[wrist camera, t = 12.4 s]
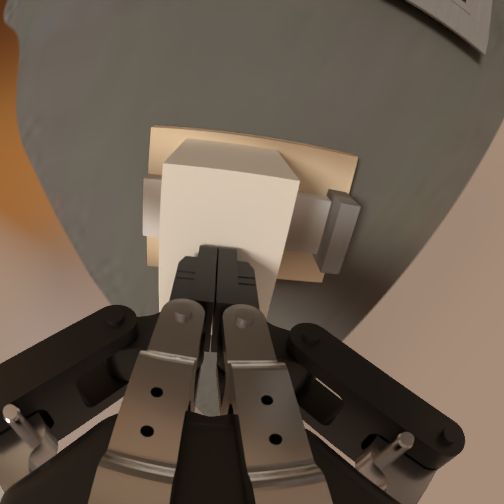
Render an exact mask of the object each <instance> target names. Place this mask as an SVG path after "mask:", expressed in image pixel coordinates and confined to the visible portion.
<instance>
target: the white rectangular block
mask: <svg viewBox="0 0 504 504" xmlns="http://www.w3.org/2000/svg"><path fill="white" fill-rule="evenodd" d="M299 184H300V180H299V179H298V178H297V176H296V175H295V174H294V172H293V171H292V169H291V168H290V167H289V165H288V164H287V163H286V161H285V160H284V159H283V157H282V156H281V155H280V153H279V152H278V151H277V150H275V149H269V148H263V147H256V146H250V145H243V144H236V143H228V142H220V141H212V140H203V139H193V138H186V139H185V140H184V141H183V143H182V144H181V145H180V146H179V147H178V148H177V149H176V150H175V151H174V152H173V153H172V154H171V155H170V156H169V157H168V158H167V159H166V161H165V162H164V163H163V169H162V183H161V201H160V225H159V312H161V309H162V307H163V306H164V305H165V304H166V303H167V302H169V299H170V295H171V291H172V287H173V283H174V279H175V275H176V272H177V267H178V263H179V261H181V260H182V259H183V258H184V257H185V256H192V257H198V253H199V247H200V245H203V246H213V247H217V258H218V249H219V247H223V248H232V249H237V261H242V262H249V264H250V265H251V266H252V267H253V269H254V271H255V279H256V286H257V293H258V301H259V308H260V311H261V312H262V313H263V314H264V316H265V318H267V314H268V310H269V306H270V302H271V299H272V295H273V291H274V287H275V283H276V279H277V275H278V271H279V267H280V263H281V259H282V255H283V251H284V247H285V243H286V239H287V235H288V231H289V226H290V222H291V218H292V214H293V210H294V205H295V201H296V197H297V192H298V188H299ZM216 267H217V261H216ZM211 335H212V328H211Z"/></svg>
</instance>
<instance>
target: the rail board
mask: <svg viewBox="0 0 504 504" xmlns="http://www.w3.org/2000/svg"><path fill="white" fill-rule="evenodd" d="M186 138H193V139H203V140H212V141H220V142H228V143H236V144H243V145H250V146H256V147H263V148H269V149H275V150H277V151H278V152H279V153H280V155H281V156H282V157H283V159H284V160H285V161H286V163H287V164H288V165H289V167H290V168H291V169H292V171H293V172H294V174H295V175H296V176H297V178H298V179H299V180H300V184H299V188H298V192H297V197H296V201H295V205H294V210H293V214H292V218H291V222H290V226H289V231H288V235H287V239H286V243H285V247H284V251H283V255H282V259H281V263H280V267H279V271H278V275H277V279H285V280H296V281H308V282H320V283H322V280H323V277H324V274H325V273H329V274H339V272H340V270H341V267H342V264H343V261H344V258H345V255H346V252H347V249H348V246H349V243H350V240H351V237H352V234H353V231H354V228H355V224H356V221H357V218H358V215H359V211H360V208H361V206H360V205H359V204H358V203H357V202H356V201H355V200H354V199H353V198H352V197H351V196H350V195H349V191H350V188H351V184H352V180H353V176H354V173H355V169H356V165H357V161H358V157H357V156H355V155H353V154H351V153H347V152H342V151H338V150H333V149H329V148H324V147H319V146H314V145H309V144H304V143H299V142H294V141H288V140H282V139H277V138H270V137H264V136H257V135H251V134H243V133H236V132H228V131H219V130H210V129H200V128H189V127H176V126H160V125H155V126H153V127H151V138H150V152H149V169H148V175H147V176H146V177H145V178H144V185H143V236H147V265H148V266H157V267H159V225H160V201H161V183H162V169H163V163H164V162H165V161H166V159H167V158H168V157H169V156H170V155H171V154H172V153H173V152H174V151H175V150H176V149H177V148H178V147H179V146H180V145H181V144H182V143H183V141H184V140H185V139H186Z"/></svg>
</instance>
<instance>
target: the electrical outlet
mask: <svg viewBox="0 0 504 504" xmlns="http://www.w3.org/2000/svg"><path fill="white" fill-rule="evenodd" d="M405 1H407V2H408V3H410V4H412V5H413V6H415V7H417V8H418V9H420V10H422V11H423V12H425V13H426V14H428V15H429V16H431V17H433V18H434V19H436V20H437V21H439V22H440V23H441V24H443V25H444V26H446V27H447V28H449V29H450V30H451V31H453V32H454V33H455V34H457V35H458V36H459V37H461V38H462V39H463V40H465V41H466V42H467V43H469V44H470V45H471V46H472V47H473V48H475V49H476V50H477V51H478V52H480V53H481V54H482V55H486V50H487V44H488V37H489V29H490V21H491V11H492V0H405Z"/></svg>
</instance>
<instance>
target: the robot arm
mask: <svg viewBox="0 0 504 504" xmlns="http://www.w3.org/2000/svg"><path fill="white" fill-rule="evenodd" d="M216 261H217V267H216ZM211 328H212V340H211V352H217V364H216V379H217V391H218V402H219V415H220V416H215V417H208V416H204V415H201V414H198V413H194V411H195V404H196V397H197V391H198V384H199V378H200V372H201V365H202V363H203V359H204V351H206V352H209V348H210V338H211ZM316 378H318V379H319V380H320V381H321V382H323V383H324V384H325V385H326V386H328V387H329V388H330V389H332V390H333V391H334V392H335V393H337V394H338V395H339V396H340V397H341V399H342V400H341V399H340V398H339V397H337V396H336V395H335V394H333V393H332V392H331V391H330V390H328V389H327V388H326V387H325V386H323V385H322V384H321V383H320V382H318V381H317V380H316ZM123 396H124V398H123V401H122V404H121V407H120V410H119V413H118V414H115V415H113V416H110V417H108V418H106V419H104V420H103V421H101V422H100V423H98V424H97V425H95V426H94V427H93V428H91V429H90V430H89V431H87V432H86V433H85V434H84V435H82V436H81V437H79V438H78V439H77V440H75V441H74V442H73V443H71V444H70V445H69V446H67V447H66V448H64V449H63V450H62V451H60V452H59V453H58V454H57V451H58V441H59V440H61V439H62V438H64V437H65V436H67V435H68V434H70V433H71V432H73V431H74V430H76V429H77V428H79V427H80V426H81V425H83V424H85V423H86V422H87V421H89V420H90V419H92V418H93V417H95V416H96V415H98V414H99V413H101V412H102V411H103V410H105V409H106V408H108V407H109V406H110V405H112V404H113V403H115V402H116V401H118V400H119V399H120V398H122V397H123ZM302 419H303V420H304V421H305V422H306V423H307V424H308V425H310V426H311V427H312V428H313V429H314V430H316V431H317V432H318V433H319V434H320V435H322V436H323V437H324V438H325V439H327V440H328V441H329V442H330V443H331V444H333V445H334V446H335V447H337V448H338V449H339V450H340V451H342V452H343V453H344V454H345V455H347V456H348V457H349V458H351V459H352V460H353V461H355V468H354V467H353V466H352V465H351V464H349V463H348V462H347V461H346V460H345V459H343V458H342V457H341V456H340V455H338V454H337V453H336V452H335V451H334V450H333V449H331V448H330V447H329V446H328V445H327V444H326V443H324V441H322V440H321V439H320V438H319V437H318V436H316V435H315V434H313V433H312V432H311V431H309V430H307V429H305V427H304V424H303V420H302ZM464 445H465V436H464V433H463V431H462V429H461V427H460V426H459V425H458V424H457V423H456V422H455V421H453V420H452V419H450V418H449V417H447V416H446V415H444V414H443V413H441V412H440V411H439V410H437V409H436V408H434V407H433V406H431V405H430V404H428V403H427V402H426V401H424V400H423V399H421V398H420V397H418V396H417V395H416V394H414V393H412V392H411V391H410V390H408V389H407V388H405V387H404V386H403V385H401V384H400V383H399V382H397V381H396V380H394V379H393V378H391V377H390V376H389V375H387V374H386V373H384V372H383V371H382V370H380V369H379V368H377V367H376V366H375V365H373V364H372V363H371V362H369V361H368V360H366V359H365V358H364V357H362V356H361V355H359V354H358V353H357V352H355V351H354V350H352V349H351V348H349V347H348V346H347V345H345V344H344V343H343V342H341V341H340V340H339V339H337V338H336V337H335V336H333V335H332V334H330V333H329V332H328V331H326V330H325V329H324V328H322V327H320V326H318V325H315V324H312V323H301V324H297V325H295V326H294V327H293V328H292V329H291V331H289V330H285V329H282V328H279V327H276V326H274V325H272V324H270V323H268V322H267V321H266V318H265V316H264V314H263V313H262V312H261V311H260V308H259V301H258V293H257V286H256V279H255V271H254V269H253V267H252V266H251V265H250V264H249V262H242V261H237V249H232V248H223V247H219V249H218V258H217V247H213V246H203V245H200V247H199V253H198V257H192V256H185V257H184V258H183V259H182V260H181V261H179V263H178V267H177V272H176V275H175V279H174V283H173V287H172V291H171V295H170V299H169V302H167V303H166V304H165V305H164V306H163V307H162V309H161V312H159V313H157V314H154V315H150V316H143V317H137V316H136V314H135V312H134V311H133V310H132V309H130V308H128V307H126V306H122V305H111V306H107V307H104V308H102V309H101V310H98V311H97V312H95V313H93V314H91V315H89V316H87V317H85V318H83V319H82V320H80V321H78V322H76V323H74V324H72V325H70V326H69V327H67V328H65V329H63V330H61V331H59V332H58V333H56V334H54V335H52V336H50V337H48V338H47V339H45V340H43V341H41V342H39V343H37V344H35V345H34V346H32V347H30V348H28V349H26V350H24V351H23V352H21V353H19V354H17V355H15V356H14V357H12V358H10V359H8V360H6V361H5V362H3V363H1V364H0V485H1V487H2V489H3V490H4V492H5V493H4V495H3V497H2V499H1V502H0V504H417V503H418V501H419V500H420V498H421V497H422V495H423V493H424V492H425V490H426V488H427V487H428V485H429V483H430V481H431V480H432V478H433V476H434V474H435V472H436V471H437V469H439V468H440V467H442V466H443V465H444V464H446V463H447V462H449V461H450V460H451V459H453V458H454V457H455V456H456V455H458V454H459V453H460V452H461V451H462V450H463V448H464Z"/></svg>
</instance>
